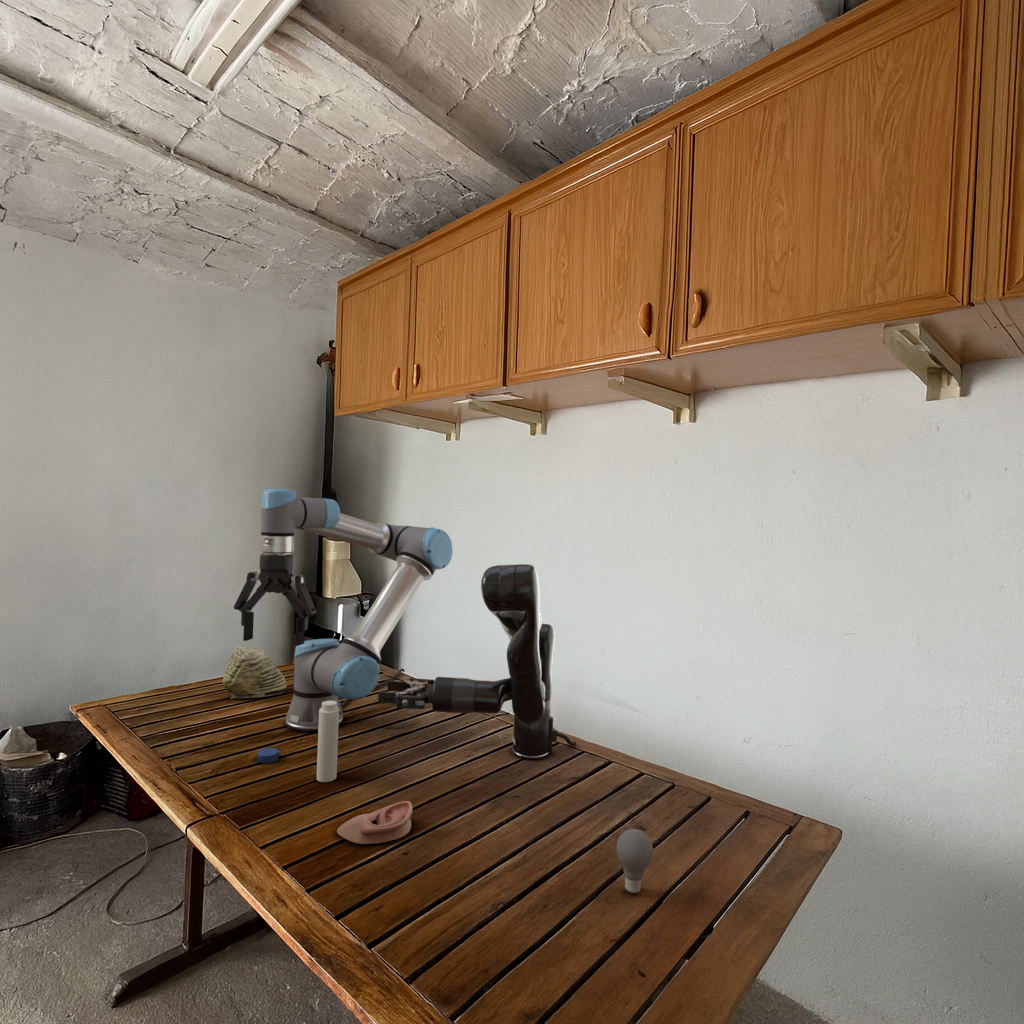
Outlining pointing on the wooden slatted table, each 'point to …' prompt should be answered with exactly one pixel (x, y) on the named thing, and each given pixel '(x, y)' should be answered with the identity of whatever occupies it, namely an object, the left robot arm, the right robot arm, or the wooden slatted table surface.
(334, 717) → the white cylindrical bottle
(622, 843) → the light bulb
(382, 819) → the anatomical model
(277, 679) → the fossil
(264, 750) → the lid
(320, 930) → the wooden slatted table surface
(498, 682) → the right robot arm
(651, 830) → the wooden slatted table surface
